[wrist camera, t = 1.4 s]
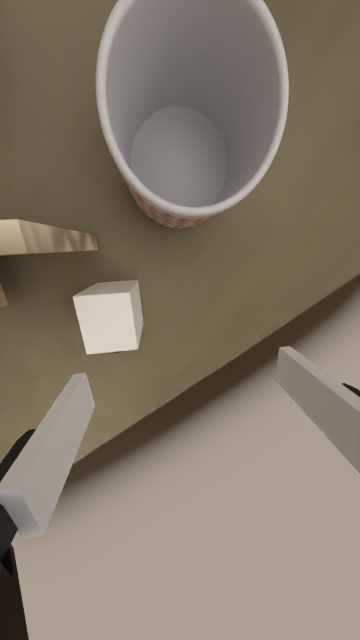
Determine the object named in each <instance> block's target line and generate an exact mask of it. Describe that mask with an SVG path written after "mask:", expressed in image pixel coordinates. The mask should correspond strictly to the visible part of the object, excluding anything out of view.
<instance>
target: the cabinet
mask: <svg viewBox="0 0 360 640" xmlns="http://www.w3.org/2000/svg"><path fill="white" fill-rule="evenodd" d="M73 301H74V305H75V309H76V313H77V317H78V321H79V325H80V329H81V333H82V337H83V341H84V345H85V349H86V353H87V354H95V353H106V352H113V353H120V352H122V351H127V350H138V346H139V341H140V337H141V332H142V327H143V316H142V308H141V300H140V292H139V285H138V280H128V281H113V282H99V283H96V284H94V285H92V286H90V287H88V288H87V289H85V290H83V291H81V292H80V293H78V294H76V295H74V296H73Z"/></svg>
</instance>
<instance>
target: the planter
mask: <svg viewBox="0 0 360 640" xmlns="http://www.w3.org/2000/svg"><path fill="white" fill-rule="evenodd" d="M288 99H289V79H288V68H287V61H286V56H285V51H284V47H283V43H282V40H281V37H280V34H279V31H278V28H277V26H276V23H275V21H274V19H273V17H272V15H271V13H270V11H269V9H268V7H267V6H266V4H265V2H264V1H263V0H118V1H117V3H116V4H115V6H114V8H113V10H112V12H111V14H110V16H109V18H108V21H107V23H106V26H105V29H104V32H103V35H102V39H101V42H100V47H99V51H98V58H97V65H96V101H97V109H98V115H99V119H100V124H101V128H102V131H103V134H104V138H105V140H106V143H107V146H108V148H109V151H110V153H111V155H112V157H113V159H114V161H115V163H116V165H117V167H118V169H119V171H120V173H121V175H122V177H123V179H124V181H125V183H126V185H127V186H128V188H129V190H130V192H131V194H132V196H133V198H134V200H135V201H136V203H137V204H138V206H139V207H140V208H141V210H142V211H143V212H144V213H145V214H146V215H147V216H148V217H150V218H151V219H152V220H154V221H155V222H157V223H159V224H161V225H163V226H166V227H169V228H175V229H185V228H191V227H194V226H197V225H199V224H201V223H203V222H205V221H207V220H209V219H210V218H212V217H214V216H216V215H217V214H219V213H221V212H223V211H225V210H226V209H228V208H230V207H232V206H233V205H235V204H236V203H238V202H239V201H240V200H242V199H243V198H244V197H245V196H247V195H248V194H249V193H250V192H251V191H252V190H253V189H254V188H255V186H256V185H257V184H258V183H259V182H260V180H261V179H262V178H263V176H264V175H265V173H266V172H267V170H268V168H269V167H270V165H271V163H272V161H273V159H274V157H275V155H276V152H277V150H278V147H279V144H280V142H281V138H282V135H283V131H284V127H285V123H286V117H287V111H288Z"/></svg>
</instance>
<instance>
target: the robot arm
mask: <svg viewBox="0 0 360 640" xmlns="http://www.w3.org/2000/svg"><path fill="white" fill-rule="evenodd" d="M276 381H277V382H278V383H279V384H280V386H281V387H282V388H283V389H284V390H285V391H286V392H287V393H288V394H289V395H290V397H291V398H292V399H293V400H294V401H295V402H296V403H297V404H298V405H299V407H300V408H301V409H302V410H303V411H304V412H305V413H306V414H307V415H308V417H309V418H310V419H311V420H312V421H313V422H314V423H315V424H316V425H317V427H318V428H319V429H320V430H321V431H322V432H323V433H324V434H325V435H326V436H327V438H328V439H329V440H330V441H331V442H332V443H333V444H334V445H335V446H336V448H337V449H338V450H339V451H340V452H341V453H342V454H343V455H344V456H345V458H346V459H347V460H348V461H349V462H350V463H351V464H352V465H353V466H354V468H355V469H356V470H357V471H358V472H359V473H360V391H359V390H358V389H356V388H354V387H352V386H350V385H347V384H345V383H343V384H341V383H339V382H338V381H337V380H335V379H334V378H332V377H331V376H330V375H328V374H327V373H326V372H324V371H323V370H322V369H320V368H319V367H317V366H316V365H315V364H313V363H312V362H311V361H309V360H308V359H306V358H305V357H304V356H302V355H301V354H300V353H298V352H297V351H296V350H294V349H293V348H291V347H290V346H288V347H281V348H279V355H278V365H277V375H276ZM94 408H95V403H94V400H93V396H92V393H91V389H90V386H89V382H88V379H87V376H86V373H79V374H73V376H72V377H71V379H70V380H69V382H68V383H67V385H66V386H65V388H64V389H63V390H62V392H61V393H60V395H59V396H58V398H57V399H56V401H55V402H54V404H53V405H52V407H51V408H50V410H49V411H48V413H47V414H46V416H45V417H44V419H43V420H42V421H41V423H40V424H39V426H38V427H37V429H32V430H28V431H27V432H26V433H25V434H24V435H23V436H21V437H20V438H19V439H18V440H17V441H16V443H15V444H14V445H13V447H12V448H11V449H10V451H9V453H7V455H6V456H5V458H4V459H3V460H2V463H0V640H29V638H28V633H27V626H26V621H25V614H24V608H23V602H22V597H21V591H20V584H19V578H18V572H17V566H16V561H15V554H14V549H13V546H12V545H11V542H12V540H13V538H14V536H15V534H16V532H17V530H18V532H19V533H20V535H21V536H22V538H23V539H25V538H30V537H36V536H41V535H44V534H45V531H46V529H47V526H48V524H49V521H50V519H51V516H52V514H53V511H54V509H55V506H56V504H57V501H58V499H59V496H60V494H61V491H62V489H63V486H64V484H65V481H66V479H67V476H68V473H69V471H70V469H71V466H72V464H73V461H74V459H75V456H76V454H77V451H78V449H79V446H80V444H81V441H82V439H83V436H84V434H85V431H86V429H87V426H88V423H89V421H90V418H91V416H92V413H93V411H94Z"/></svg>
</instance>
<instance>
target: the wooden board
mask: <svg viewBox="0 0 360 640" xmlns="http://www.w3.org/2000/svg"><path fill="white" fill-rule="evenodd" d="M92 250H98V248H97V242H96V237H95V235H94V234H89V233H84V232H79V231H74V230H69V229H64V228H59V227H54V226H49V225H44V224H39V223H34V222H29V221H24V220H19V219H12V220H0V256H2V255H20V254H38V253H56V252H74V251H92ZM7 305H8V303H7V300H6V297H5V295H4V292H3V289H2V287H1V284H0V308H2V307H5V306H7Z"/></svg>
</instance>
